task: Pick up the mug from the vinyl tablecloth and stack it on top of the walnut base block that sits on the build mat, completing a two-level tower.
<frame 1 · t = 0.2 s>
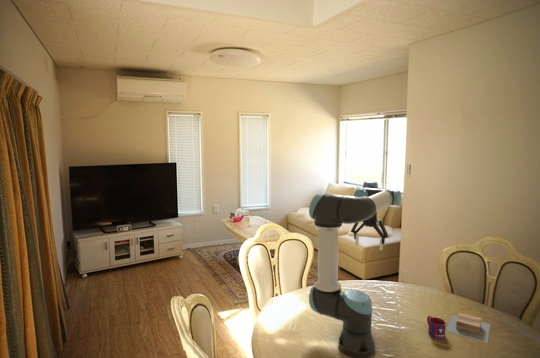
hand: (368, 247, 188), 28 cm above the table, fingers open, 13 cm apart
base block: (468, 327, 157), resting on build mat
build mat: (468, 328, 157), on the table
mug: (434, 333, 154), on the table
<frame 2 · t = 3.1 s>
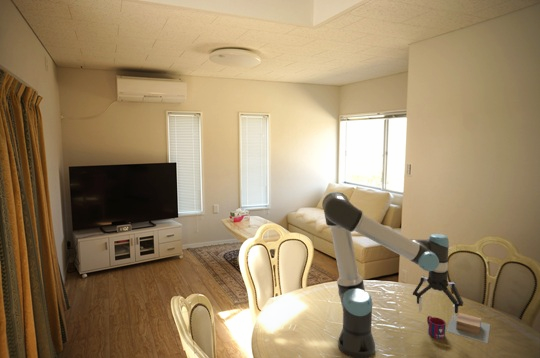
hand: (436, 314, 153), 9 cm above the table, fingers open, 13 cm apart
nothing on the table moved.
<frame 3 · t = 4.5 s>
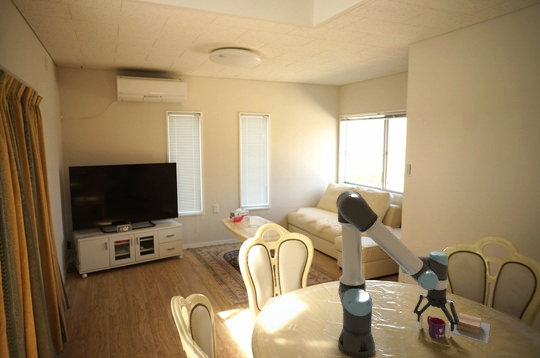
hand: (434, 332, 154), 0 cm above the table, fingers open, 11 cm apart
nothing on the table moved.
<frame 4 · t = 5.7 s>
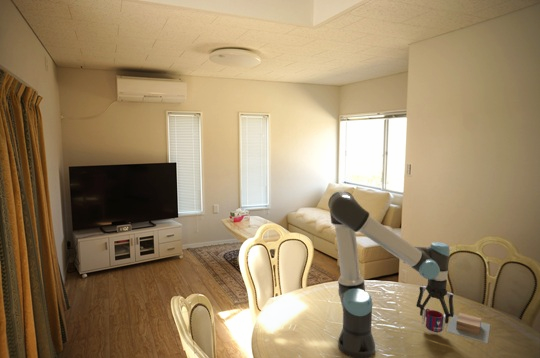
hand: (433, 325, 154), 4 cm above the table, fingers closed on mug, 8 cm apart
mug: (432, 326, 154), point 3 cm above the table, touching gripper
everything else where it was.
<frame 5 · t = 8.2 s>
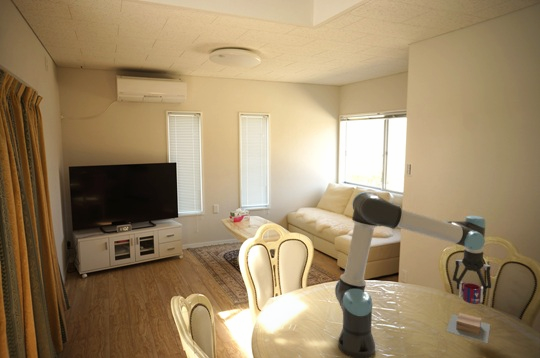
hand: (470, 298, 156), 15 cm above the table, fingers closed on mug, 8 cm apart
mug: (469, 299, 156), point 14 cm above the table, touching gripper
everything else where it was.
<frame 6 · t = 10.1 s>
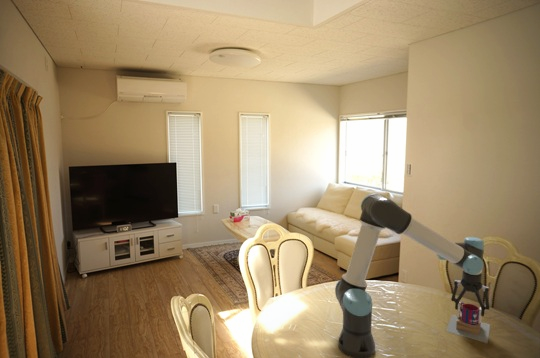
hand: (468, 319, 157), 5 cm above the table, fingers closed on mug, 8 cm apart
base block: (468, 327, 157), resting on build mat, touching gripper
mug: (467, 319, 157), point 4 cm above the table, touching gripper
when the fingers open (5 cm above the table, at t = 10.7 s): mug stays where it is, resting on base block.
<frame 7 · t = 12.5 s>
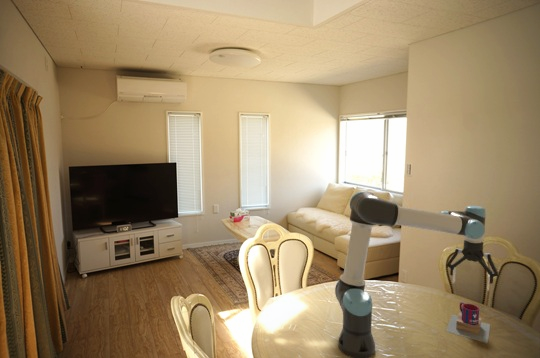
hand: (470, 285, 155), 21 cm above the table, fingers open, 13 cm apart
base block: (468, 327, 157), resting on build mat, touching mug
mug: (467, 319, 157), point 4 cm above the table, touching base block
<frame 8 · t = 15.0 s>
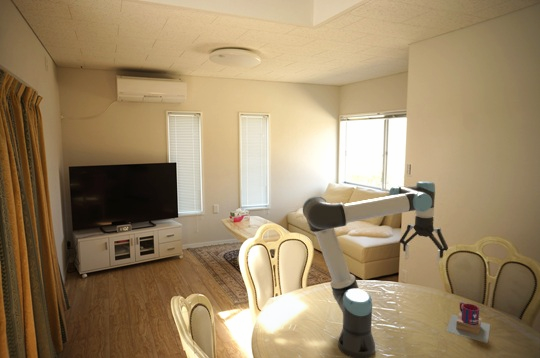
hand: (422, 261, 156), 32 cm above the table, fingers open, 13 cm apart
nothing on the table moved.
at the end: mug 0.5 cm from the base block (horizontally); mug point 4.2 cm above the table; mug touching base block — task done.
